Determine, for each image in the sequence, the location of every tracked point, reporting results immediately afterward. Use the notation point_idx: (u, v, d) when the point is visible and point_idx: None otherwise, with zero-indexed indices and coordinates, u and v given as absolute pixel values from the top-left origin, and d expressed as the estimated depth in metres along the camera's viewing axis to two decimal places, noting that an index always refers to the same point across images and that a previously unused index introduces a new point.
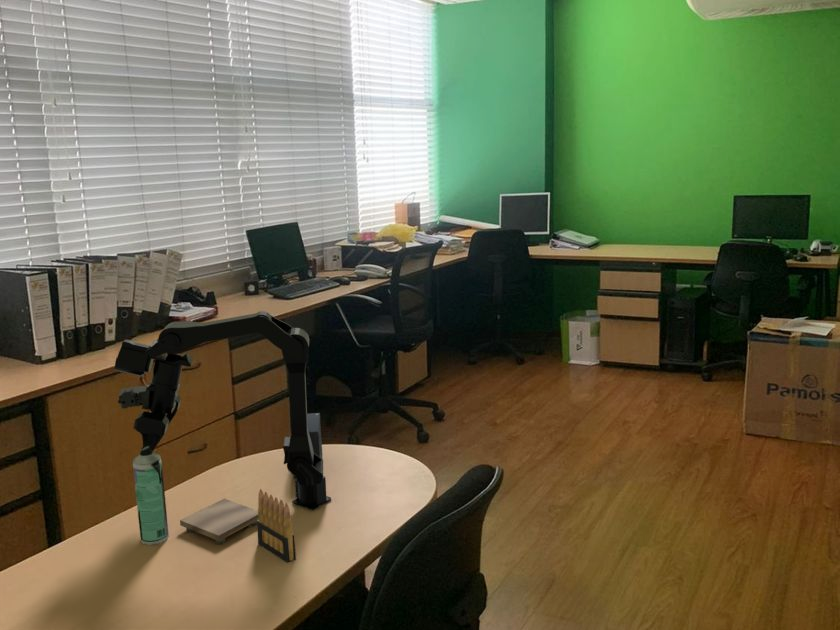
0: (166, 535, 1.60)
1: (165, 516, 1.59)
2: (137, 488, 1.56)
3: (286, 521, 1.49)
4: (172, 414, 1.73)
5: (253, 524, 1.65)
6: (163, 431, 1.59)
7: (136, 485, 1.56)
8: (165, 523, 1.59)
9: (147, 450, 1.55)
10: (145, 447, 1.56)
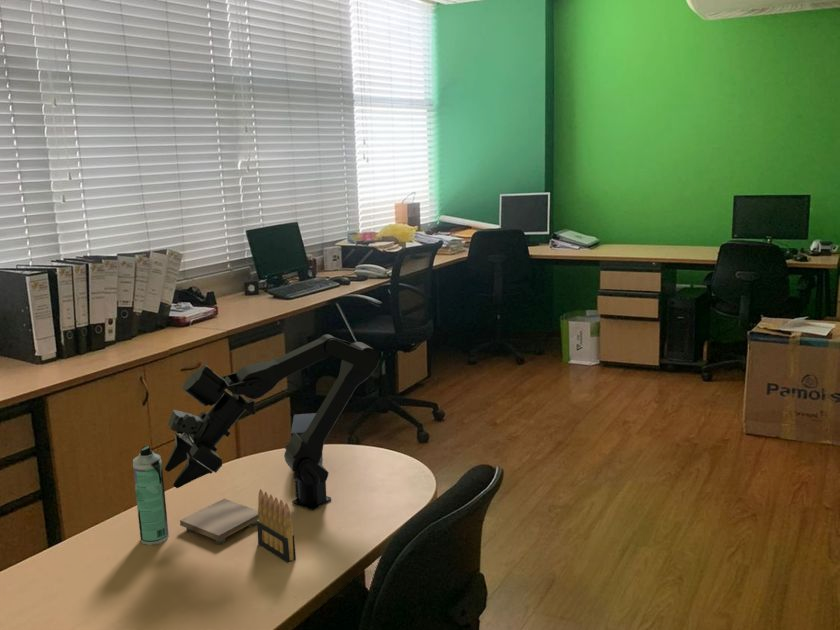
0: (166, 535, 1.60)
1: (165, 516, 1.59)
2: (137, 488, 1.56)
3: (286, 521, 1.49)
4: None
5: (253, 524, 1.65)
6: (217, 469, 1.55)
7: (136, 485, 1.56)
8: (165, 523, 1.59)
9: (147, 450, 1.55)
10: (145, 447, 1.56)
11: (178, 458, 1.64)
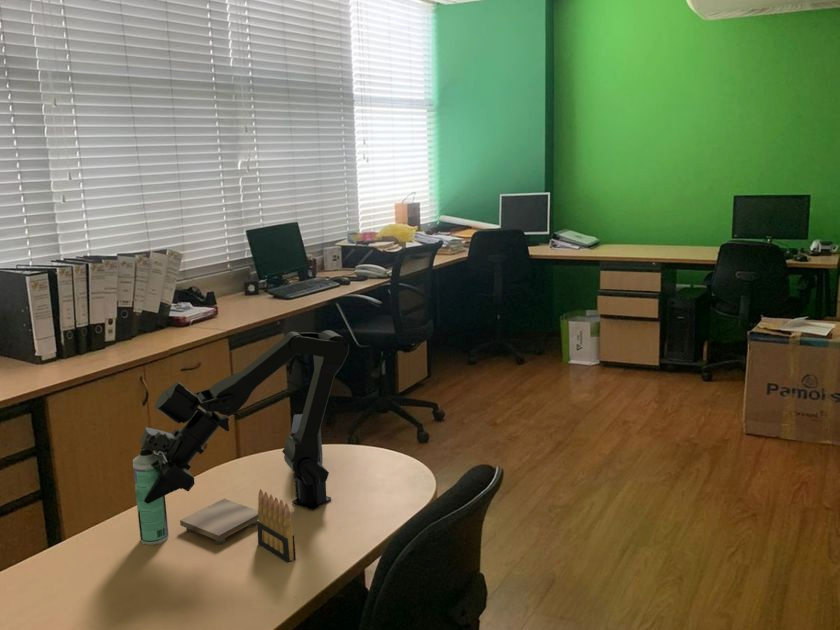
0: (166, 535, 1.60)
1: (165, 516, 1.59)
2: (137, 488, 1.56)
3: (286, 521, 1.49)
4: None
5: (253, 524, 1.65)
6: (190, 488, 1.53)
7: (136, 485, 1.56)
8: (165, 523, 1.59)
9: (147, 450, 1.55)
10: None
11: None
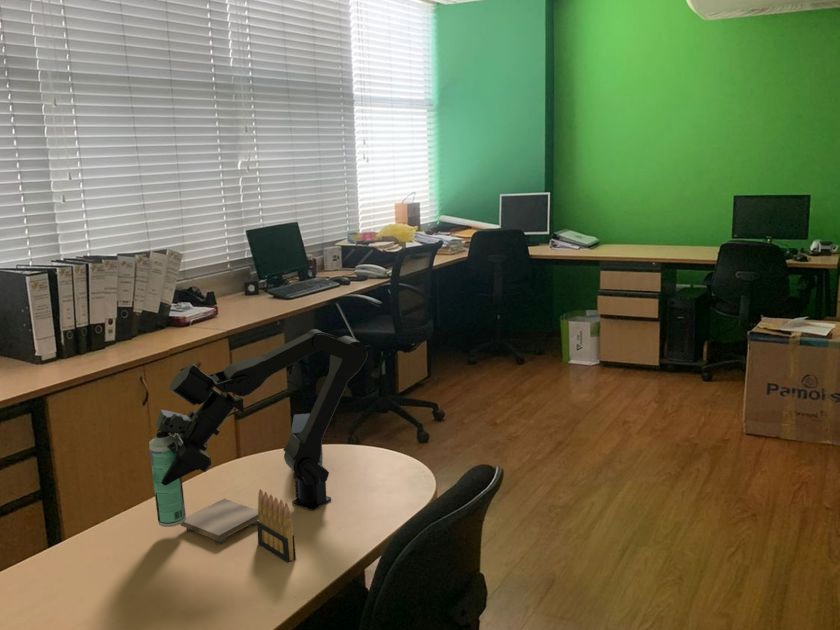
0: (183, 517, 1.60)
1: (182, 498, 1.60)
2: (154, 470, 1.56)
3: (286, 521, 1.49)
4: None
5: (253, 524, 1.65)
6: (206, 469, 1.53)
7: (153, 467, 1.56)
8: (182, 505, 1.60)
9: (163, 432, 1.56)
10: None
11: None
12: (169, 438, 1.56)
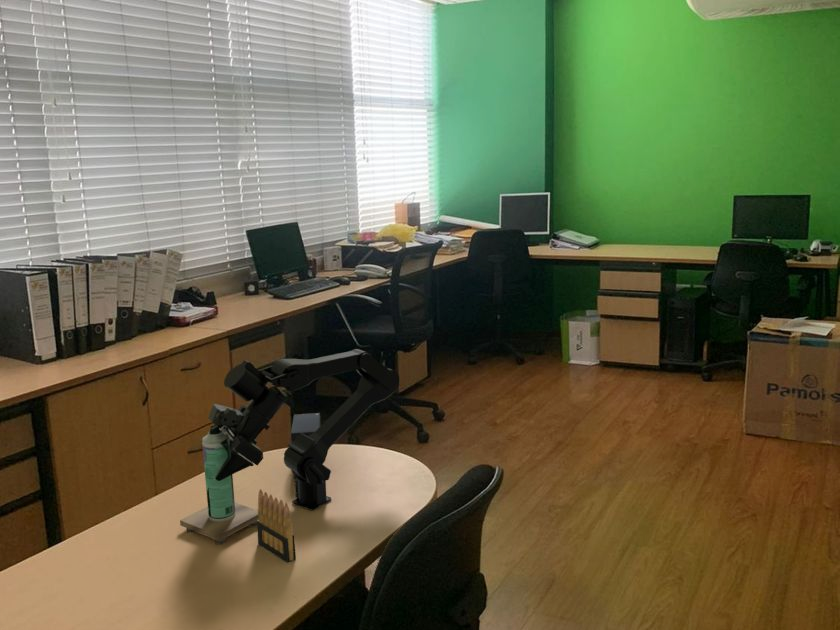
0: (233, 512, 1.63)
1: (233, 494, 1.63)
2: (206, 466, 1.59)
3: (286, 521, 1.49)
4: None
5: (253, 524, 1.65)
6: (259, 462, 1.56)
7: (205, 463, 1.60)
8: (233, 501, 1.63)
9: (216, 429, 1.59)
10: (214, 426, 1.60)
11: None
12: (222, 435, 1.60)
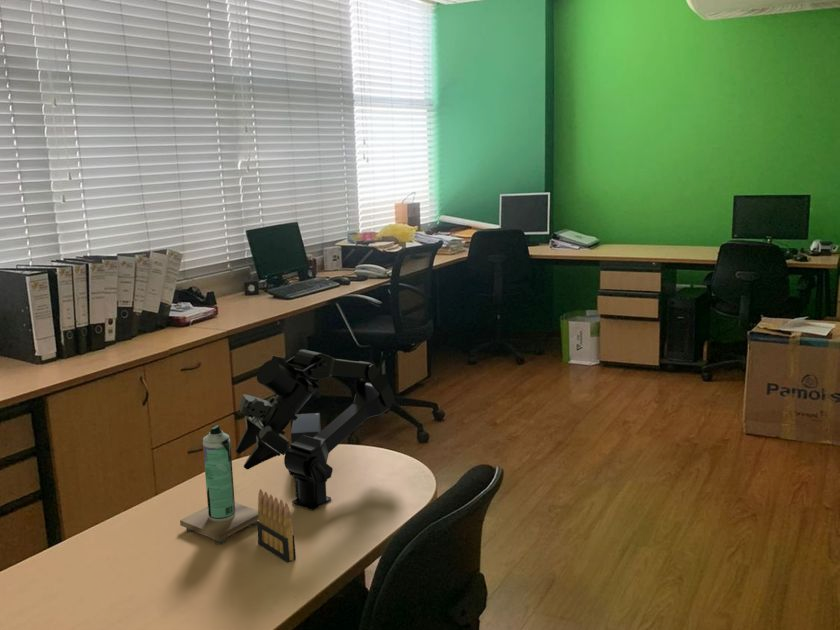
0: (233, 512, 1.63)
1: (233, 494, 1.63)
2: (207, 466, 1.59)
3: (286, 521, 1.49)
4: None
5: (253, 524, 1.65)
6: (285, 452, 1.60)
7: (206, 463, 1.60)
8: (233, 501, 1.63)
9: (217, 429, 1.59)
10: (215, 426, 1.60)
11: (248, 441, 1.70)
12: (222, 435, 1.60)
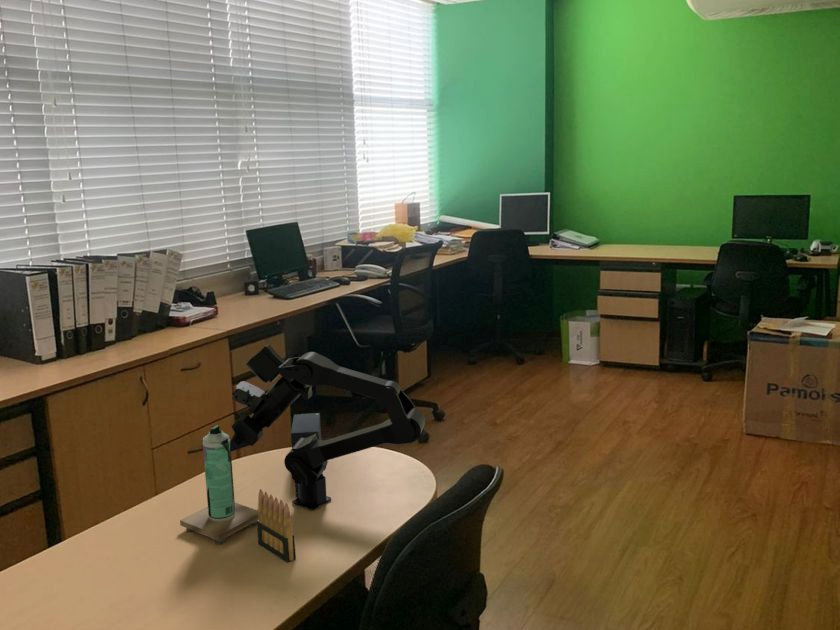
0: (233, 512, 1.63)
1: (233, 494, 1.63)
2: (207, 466, 1.60)
3: (286, 521, 1.49)
4: None
5: (253, 524, 1.65)
6: (253, 443, 1.64)
7: (206, 463, 1.60)
8: (233, 501, 1.63)
9: (217, 429, 1.59)
10: (214, 426, 1.60)
11: None
12: (222, 435, 1.60)
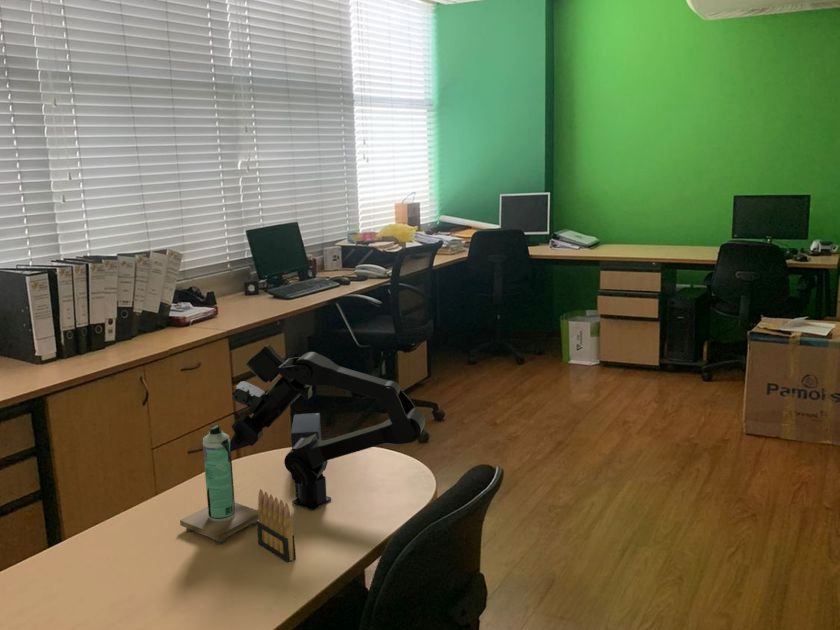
0: (233, 512, 1.63)
1: (233, 494, 1.63)
2: (207, 466, 1.59)
3: (286, 521, 1.49)
4: None
5: (253, 524, 1.65)
6: (253, 443, 1.64)
7: (206, 463, 1.60)
8: (233, 501, 1.63)
9: (217, 429, 1.59)
10: (214, 426, 1.60)
11: None
12: (222, 435, 1.60)
